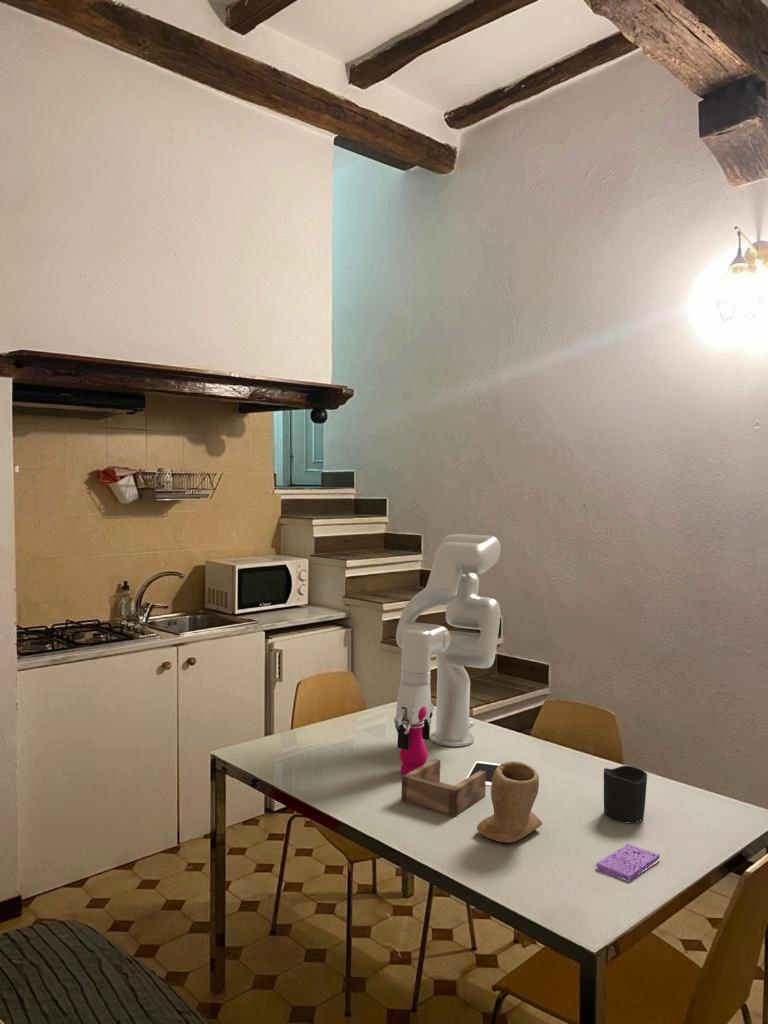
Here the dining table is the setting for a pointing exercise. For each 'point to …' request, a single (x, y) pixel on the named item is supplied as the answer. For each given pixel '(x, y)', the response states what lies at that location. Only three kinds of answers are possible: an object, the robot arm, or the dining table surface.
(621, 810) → the pen holder
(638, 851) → the sponges
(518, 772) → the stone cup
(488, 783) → the cell phone
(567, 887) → the dining table surface
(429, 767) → the holder
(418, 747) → the pepper mill
